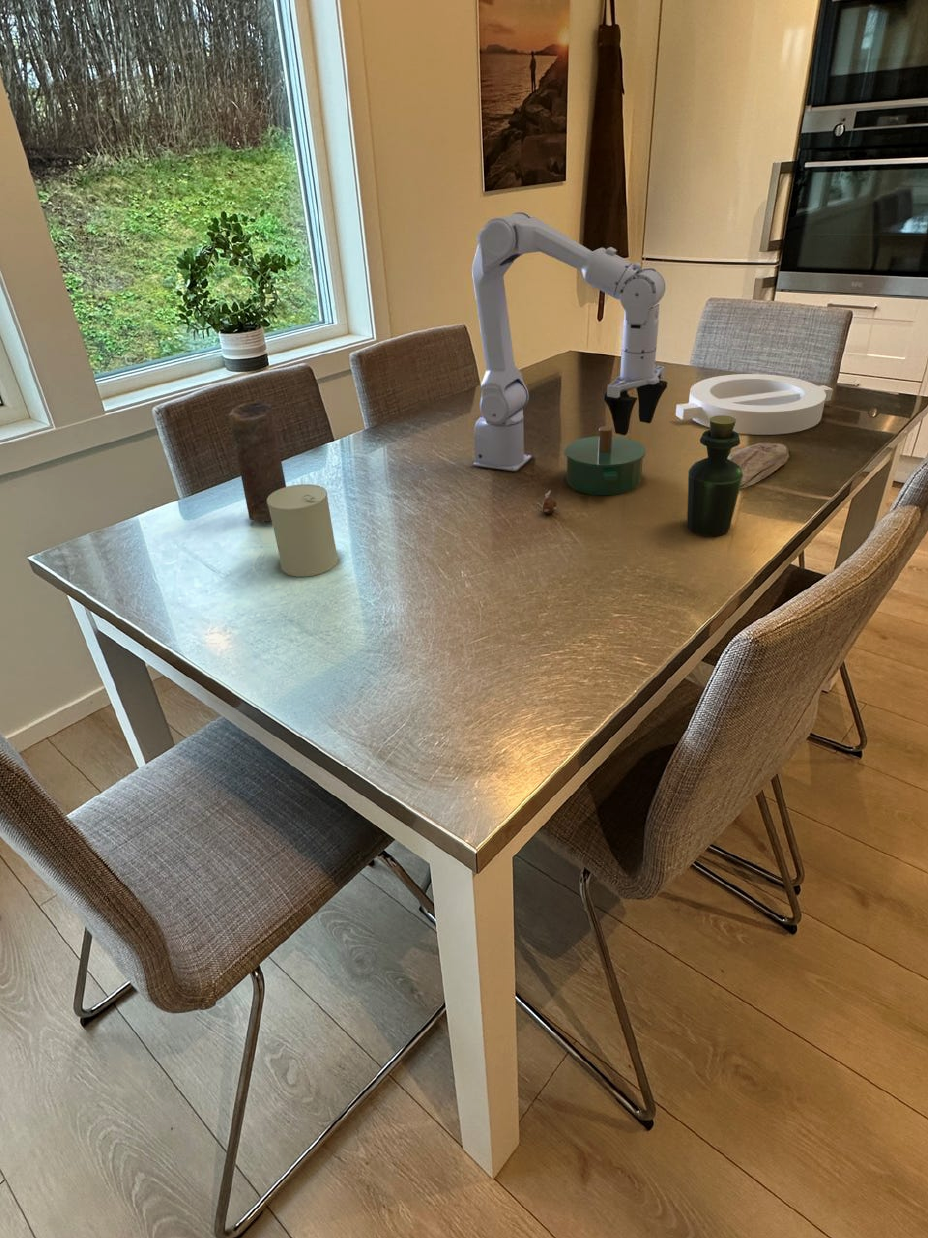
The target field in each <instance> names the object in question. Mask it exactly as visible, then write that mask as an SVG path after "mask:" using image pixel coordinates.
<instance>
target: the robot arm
mask: <svg viewBox="0 0 928 1238" xmlns="http://www.w3.org/2000/svg"><path fill="white" fill-rule="evenodd" d="M476 239H477V248H476V250H475V255H474V258H473V262H472V266H471V275H472V282H473V289H474V296H475V297H474V298H475V303H476V309H477V317H478V323H479V331H480V337H481V343H482V350H483V357H484V364H485V374H484V376H483V379H482V382H481V383H480V390H481V396H480V400H479V411H480V414H481V416H480V417H479V418H478V419H477V420H476V422H475V424H474V429H473V446H474V449H473V450H474V462H473V466H474V467H480V468H488V469H495V470H502V471H508V472H517V471H518V470H520V469H521V468H522V467H523V466H524V465H525V464H526V463H528V462H529V461H530V460H531V459H532V455H531V454H525V444H524V443H525V441H524V440H525V437H524V434H525V433H524V431H525V430H524V408H525V407H526V406H527V404H528V403H529V397H530V393H529V389H528V387H527V385H526V384H525V383H524V380H523V373H522V371H521V370H520V369H519V368H518V367H517V366H516V365H515V358H514V350H513V349H514V348H513V341H512V333H511V326H510V319H509V317H510V316H509V311H508V302H507V295H506V287H505V277H504V276H505V274H506V273H507V272H508V270H509V269H510V267H511V266H512V265H513V264H514V263H515V261H516V260H517V259H518V258H520V257H522V256H523V255H524V254H532V253H538V252H539V253H542V254H544V255H546V256H549V257H551V258H553V259H555V260H557V261H559V262H561V263H563V264H566V265H567V266H570V267H572V268H574V269H576V270H579V271H580V272H581V274H582V278H583V280H584V282H585V284H587V285H590V286H592V287H593V288H595V289H596V290H598V291H601V292H602V293H605V294H607V295H608V296H610V297H612V298H613V299H615V300H619V302H620V304H621V306H622V308H623V310H624V313H623V323H622V339H621V340H622V341H621V354H620V355H621V356H620V374H619V375H617V377H616V378H615V379H614V380H613V381H612V382H611V383H609V384H607V388H606V389H607V390H606V392H604V393H603V400H604V402H605V403H606V406H607V407H608V409H609V411H610V414H611V419H612V423H613V428H614V433H615V434H617V435H621V436H626V435H628V433H629V429H630V423H631V417H632V413H633V409H634V407H635V404H636V402H637V400H638V420H639V422H641V423H645V424H651V423H652V421H653V419H654V415H655V412H656V409H657V406H658V404H659V401H660V399H661V398H662V395H663V394H664V392H665V390H667V387H668V381H666V380H662V379H664V378H665V370H666V367H665V366H661V365H656V357H657V345H658V337H659V336H658V334H659V333H658V332H659V322H660V321H659V320H660V319H659V315H660V305H661V304H660V302H661V300H662V299H663V297H664V295H665V293H666V281H665V279H664V276H663V275H662V274H661V273H660V272H659V271H657V269H656V268H654V267H646V268H645V267H644V268H643V269H642V263H640V262H634V263H633V262H631V261H629V260H628V259H626V258H624V257H621V256H619V255H618V254H617V252H618V250H617V249H616V248H614V247H612V246H610V247H608V248H605V247H600V248H597V249H595V250H593V251H592V250H591V249H589V248H587V247H586V246H584V245H582V244H581V243H579V242H577V241H575V240H574V239H573V238H571V237H569V236H567V235H566V234H564V233H563V232H561V231H559V230H558V229H556V228H554V227H552V226H551V225H549V224H548V223H546V222H545V221H543V220H542V219H541V218H538V217H535V216H531V215H530V214H529V213H526V212H523V211H517V212H514V213H511V214H509V215H505V216H501V217H494V218H491V219H490V220H488V221H487V222H486V223H485V225H484V226H483V227H482V229H480V231H479V232H478V233H477V235H476ZM634 389H635V390H636V393H637V397H635V396H631V395H630V394H629V392H630V391H632V390H634Z"/></svg>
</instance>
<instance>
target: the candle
mask: <svg viewBox="0 0 928 1238" xmlns="http://www.w3.org/2000/svg"><path fill="white" fill-rule="evenodd" d="M228 419H229V424H230V429H231V434H232V439H233V443H234V449H235V453H236V459H237V463H238V468H239V473H240V478H241V483H242V488H243V493H244V499H245V504H246V509H247V513H248V518H249V520H250V521H252V522H253V521H254V522H257V521H258V522H263V523H267V524H268V523H269V524H271V523H272V520H271V516H270V512H269V507H268V504H267V498H268V496H269V495H270V494H272V493H273V492H275V491H277V490H279V489H281V488H285V487H287V483H286V478H285V473H284V467H283V463H282V458H281V457H282V456H281V451H280V447H279V442H278V435H277V430H276V424H275V418H274V414H273V407H272V406H271V404H269V403H266V402H262V401H255V402H253V401H251V402H244V403H242V404H239V405H238V406H236V407H234V408H232V410H231V411H230V412H229V413H228Z"/></svg>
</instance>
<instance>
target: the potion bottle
mask: <svg viewBox="0 0 928 1238" xmlns="http://www.w3.org/2000/svg"><path fill="white" fill-rule="evenodd" d="M735 423H736V419H735V418H734V417H730V416H713V417H711V418H710V427H709V429H707V430H705V431H704V432H703V433H702V434H701V436H700V438H699V442H700V444H701V445H703V446H706V453H707V457H705V458H703V459H700V460H698V461H695V462H694V463H693V464H692V465H691V467H690V468H689V469H688V471H687V472H688V476H687V477H688V478H687V521H686V522H687V523H686V525H687V528H688V529H689V531H691V532H692V533H693V534H695V535H698V536H701V537H702V536H703V537H721V536H722V535H724V534H726V533H727V532H728V531H729V530H730V527H731V524H732V520H733V516H734V513H735V508H736V504H737V501H738V496H739V494H740V490H741V489H740V485H741V481H742V478H743V474H742V471H741V469H740V466H738V465H737V464H736V463H734V462H732V461H731V460H729V459H727V458H728V456H729V455H730V454H731V451H732V448H735V447H738V446H739V445H740V444H741V439H740V435H739V433H736V432H735V431H733V428H734V425H735Z"/></svg>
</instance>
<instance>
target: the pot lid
mask: <svg viewBox="0 0 928 1238" xmlns="http://www.w3.org/2000/svg"><path fill="white" fill-rule="evenodd" d="M613 428H614V427H612V426H607V425H605V426H600V427H599V428H598V436H597V435H596V436H588V437H583V438H579V439H575V440H574V441H571V442H570V443H568V444H567V445H566V446H565V448H564V455H565V457H566V459H567V458H568V459H569V460H571V461H573V462H575V463H578V464H581V465H585V466H591V467H619V466H625V465H629V464H633V463H635V462H638V461H639V460H641V459H642V458H643V459H644V458H645V456H646V451H647V450H646V448H645V446H644V445H643V444H641V442H639V441H636V440H634V439H630V438H627V437H621V436H614V435H613Z"/></svg>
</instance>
